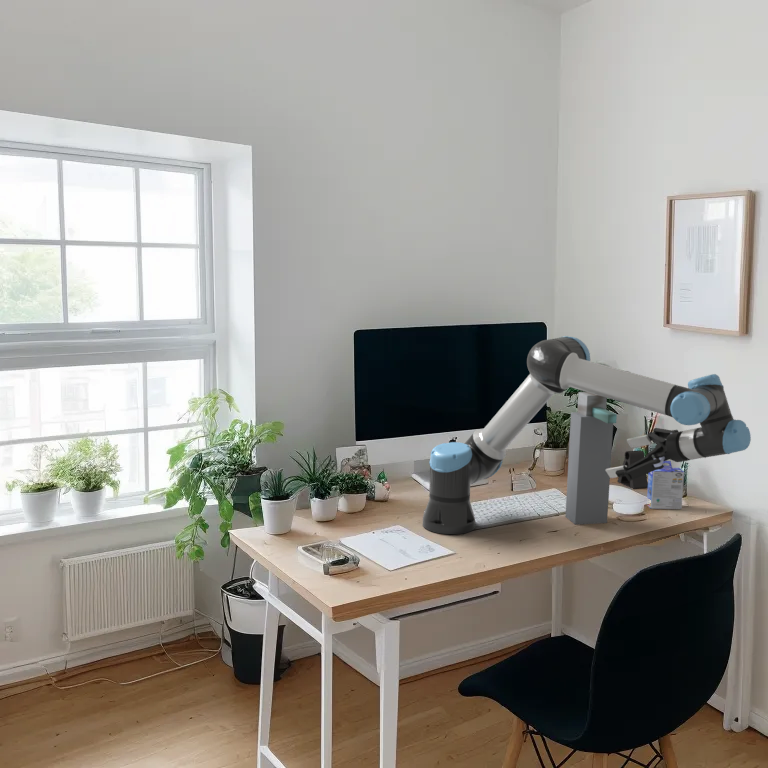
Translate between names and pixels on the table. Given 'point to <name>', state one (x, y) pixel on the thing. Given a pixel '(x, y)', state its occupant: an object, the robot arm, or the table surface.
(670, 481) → the ink cartridge box
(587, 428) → the charcoal stand
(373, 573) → the table surface
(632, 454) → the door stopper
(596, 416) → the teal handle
